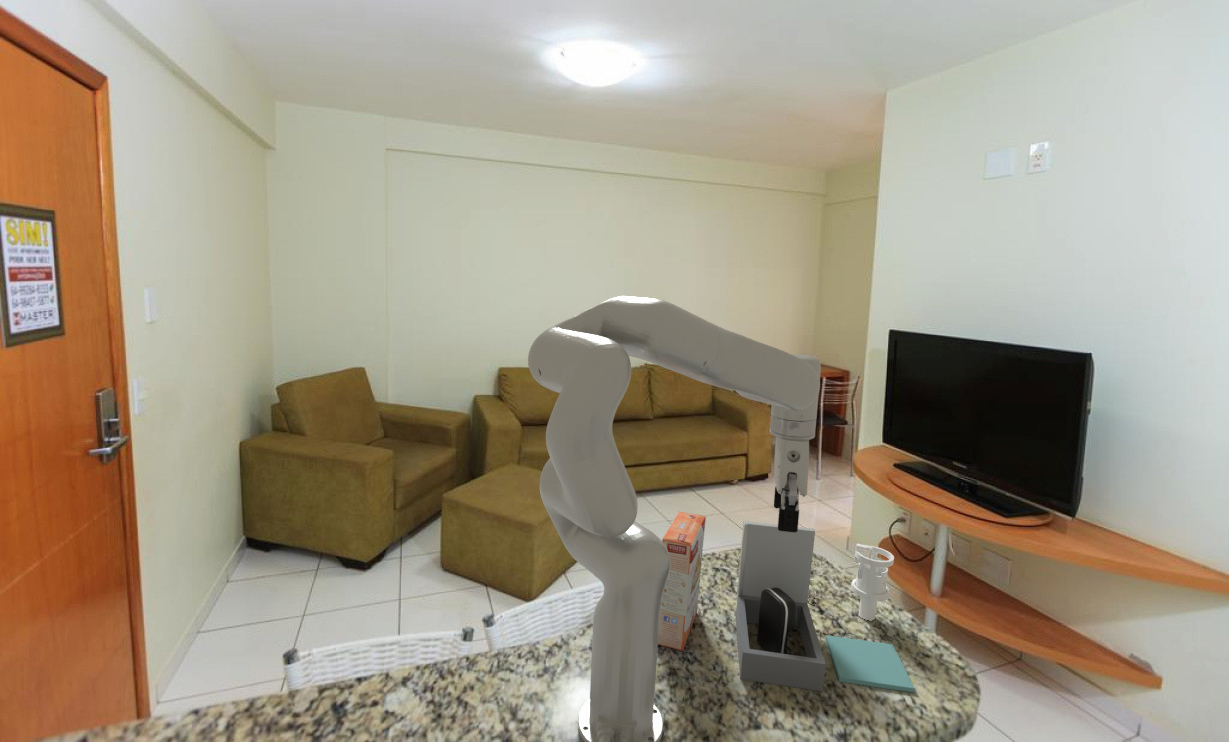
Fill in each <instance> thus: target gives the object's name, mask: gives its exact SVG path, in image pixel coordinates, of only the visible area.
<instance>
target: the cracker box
mask: <svg viewBox="0 0 1229 742" xmlns="http://www.w3.org/2000/svg"><path fill="white" fill-rule="evenodd" d="M706 519H707V517H706V516H705V515H702V514H701V515H700V514H695V513H690V512H689V513H688V512H685V511H678V512H677V514H676V516H675V517H674V518H673V520H672V522H671V523H670V525H669V527H668V528H667V530H666V532H665V533H664V536H663V537H662V538H661V541H662V542H663V543H664V544H665V546H666V548H667V550H668V553H669V556H670V570H669V575H668V578H667V582H666V585H665V589H664V593H663V597H662V602H661V608H660V617H659V630H658V646H663V647H666V648H670V649H674V650H677V651H682V652H684V649H685V647H686V644H687V641H688V638H689V635H690V632H691V630H692V626H693V624H694V621H695V618H696V615H697V614H698V613H697V612H698V605H699V593H700V583H701V572H702V563H703V562H702V561H703V560H702V559H703V547H704V540H705V527H706Z"/></svg>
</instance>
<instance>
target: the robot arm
mask: <svg viewBox="0 0 1229 742" xmlns="http://www.w3.org/2000/svg"><path fill="white" fill-rule="evenodd" d="M630 357H632V358H637V359H641V360H644V361H646V362H648V363H652V364H654V365H657V366H659V367H662V368H664V369H667V370H670V371H672V372H674V373H677V374H680V375H682V376H685V377H688V378H690V379H692V380H695V381H697V382H700V383H703V384H706V385H707V384H708V385H710V386H714V387H717V388H721V389H725V390H732V391H735V392H736V393H737V394H738V395H739V396H741V397H743V398H745V399H748V400H751V401H756V402H758V403H762V404H768V405H771V409H770V411H771V412H770V421H769V423H770V424H769V433H770V435H772V436H774V437H775V444H774V445H775V447H774V448H775V449H774V461H773V464H774V472H773V473H774V476H773V477H774V482H775V486H774V497H773V498H774V499H773V500H774V501H773V507H774V509H778V517H777V518H778V520H777V521H778V522H777V525H778V530H779V531H785V532H794V533H796V532H797V531H798V527H799V520H800V504H799V503H800V501H799V500H800V496H801V497H803V498H804V497H806V496H807V495H808V485H809V482H808V481H809V465H810V464H809V462H810V440H812V439H814V438H815V437H816V428H817V427H816V426H817V416H818V405H819V395H820V390H821V388H820V387H821V372H822V367H821V366H822V364H821V361H820V360H819V358H817V357H816V356H813V355H808V354H801V353H800V354H799V353H789V352H787V351H785V350H783V349H782V350H781V349H779V348H777V347H773V346H771V345H768V344H765V343H762V342H759V341H758V340H757V341H756V340H754V339H752V338H749V337H747V336H745V335H742V334H740V333H737V332H733V331H731V330H728V329H725V328H723V327H721V326H718V325H716V324H714V323H713V322H710V321H708V320H707V319H704V318H702V317H700V316H698V315H696V314H694V313H692V312H690V311H688V310H686V309H684V308H682V307H680V306H678V305H675V304H673V303H671V302H669V301H666V300H664V299H660V298H659V299H658V298H652V297H651V298H649V297H639V296H628V295H627V296H626V295H621V296H617V297H613V298H612V297H611V298H609V299H607V300H605V301H602V302H599V303H598V304H595V305H593V306H592V307H589V308H587V309H586V310H583V311H581V312H579V313H578V314H576V315H573V316H572V317H569V318H567V319H565V320H563V321H561V322H559V323H556V324H555V325H552V326H551V327H549V328H547V329H546V330H544V331H543V332H542V333H540V334H539V335H538V336H537V337H536V338H535V340H534V341H533V343H532V345H531V346H530V349H529V351H528V356H527V364H528V368H529V372H530V374H531V377H532V378H533V379H534V380H535V381H536V383H538V384H539V385H541V386H542V387H544V388H546V389H547V390H550V391H552V392H555V393H558V394H559V395H558V397H557V400H556V401H555V403H554V406H553V409H552V411H551V413H550V417H549V419H548V422H547V426H546V430H545V444H546V445H545V446H546V449H547V453H548V455H549V458H548V460H547V461H546V462H545V464H544V466H543V467H542V471H541V473H540V477H539V491H540V493H539V494H540V497H541V501H542V503H543V505H544V507H545V510H546V511H547V513H548V516H549V518H550V519H551V521H552V524H553V526H554V529H555V530H556V532H557V533H558V536H559V537H560V540H561V542H562V544H563V545H564V547H565V549H566V551H568V553H569V555H571V557H572V558H573V560H575V561H576V562H577V563H578V564H579V565H581V566H582V567H583V568H585V570H587V571H589V573H591V574H593V576H594V577H595V578H597V579H598V580H599V581H600V582H601V584H602V585H603V588H604V589H603V595H602V596H601V597H600V599H599V600H598V602H597V604H596V605H595V608H594V612H593V618H592V619H593V620H592V640H591V641H592V642H591V643H592V645H591V661H590V662H591V663H590V664H591V667H590V668H591V669H590V683H589V685H590V686H589V687H590V688H589V698H588V700H587V701H586V702H585V703H584V704H583V705H582V707H581V709H580V712H579V714H578V721H577V722H578V723H577V726H578V727H577V728H578V733H579V736H580V737H581V740H582V741H583V742H661V739H662V736H663V732H664V731H663V729H664V720H663V717H662V713H661V712H660V710H659V709H658V707H657V706H656V705H655V693H656V690H655V689H656V677H657V661H658V647H659V645H658V630H659V617H660V608H661V602H662V597H663V593H664V589H665V585H666V582H667V578H668V575H669V570H670V556H669V553H668V550H667V548H666V546H665V544H664V543H663V542H662V538H660V537H659V536H658V535H657V534H656V533H654V532H653V531H652V530H650V529H649V528H648V527H645V526H644V525H642V524H640V523H639V522H636V518H637V515H638V499H637V493H636V491H635V487H634V486H633V483H632V481H631V479H630V476H629V474H628V472H627V468H626V466H625V464H624V462H623V459H622V456H621V453H620V451H619V449H618V447H617V443H616V440H615V438H614V434H613V424H614V423H613V422H614V419H615V415H616V412H617V410H618V407H619V405H620V404H621V402H622V399H624V396H625V394H626V393H627V390H628V388H629V385H630V382H631V378H632V363H631V358H630Z"/></svg>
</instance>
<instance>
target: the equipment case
mask: <svg viewBox="0 0 1229 742" xmlns="http://www.w3.org/2000/svg"><path fill="white" fill-rule="evenodd" d="M741 533H742V536H741V546H740V547H741V548H740V557H739V570H738V581H737V596H736V598H737V599H736V607H735V625H736V627H735V628H736V638H737V652H738V666H739V669H738V670H739V679H740V680H745V681H751V682H756V683H763V684H771V685H777V686H785V687H791V688H797V689H803V690H810V691H816V692H824V691H823V690H824V685H825V684H824V682H825V676H826V675H825V674H826V666H827V663H826V661H825V660H826V659H825V657H824V655H823V651H822V647H821V644H820V641H819V637H818V634H817V631H816V627H815V625H814V621H813V618H812V615H811V610H810V608H809V605H808V604H809V603H808V601H809V591H810V584H811V583H810V581H811V574H812V564H813V554H814V548H815V547H814V545H815V538H816V537H815V536H816V530H815V528H810V527H803V526H802V527H801V526H798V531H797V532H796V533H794V532H785V531H779V530H778V524H775V523H767V522H766V523H765V522H756V521H749V520H746V521H745V520H744V521H743V524H742V532H741ZM766 588H779V589H781V590H782V591H783V592H785V593H786V594H787V595H788V596H789V597H790V598H792V599H793V600H794V602H795V603H796V605H797V622H796V628H795V629H794V630H799V632H800V633H799V634H800V637H801V641H802V644H803V649H804V652H805V656H801V655H796V654H795V655H794V654H790V653H788V654H782V653H775V652H768V651H765V650H762V649H761V650H759V649H752V648H750V641H749V632H748V623H749V624H756V625H759V609H760V599H761V593H762V591H763V590H764V589H766Z"/></svg>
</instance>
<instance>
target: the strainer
mask: <svg viewBox="0 0 1229 742" xmlns="http://www.w3.org/2000/svg"><path fill="white" fill-rule="evenodd" d="M867 551H868V552H869V553H870V554H871V556H870V558H869V557H866V556H864V555H863V554H862V553H863V552H864V553H865V552H867ZM854 552H855V554H854V562H855V563H857V564H858V565H857V572H856V578H854V579H852V581H851V587H850V588H851V591H852V592H853V593H854V594H855V595H856V596H858V597H860V601H859V610H858V617H859V616H860V617H861V619H862V618H863V619H862V620H864V619H865V620H864V621H867V620H869V621H868V622H873V621H872V620H874V619H875V620H876V611H877V605H878V602H885V601H887V600H889V598H890V589H889V587H888V586H887V582H888V573H889V567H891V566H893V565H894V562H895V556H894V554H892V553H891V552H890V551H888V550H886V549H884V548H881V547H878V546H873V545H868V544H867V545H866V544H862V543H856V545H855V551H854ZM878 554H879V555H881V556H884V557H885V558H887V559H886V560H885V559H882V558H881V557H878ZM860 617H859V618H860ZM875 620H874V621H875Z"/></svg>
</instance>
